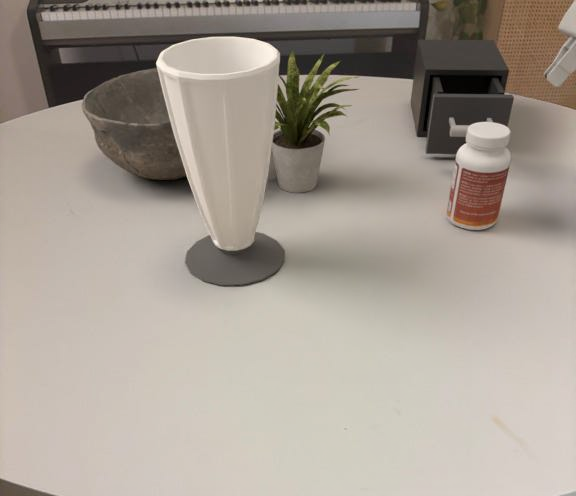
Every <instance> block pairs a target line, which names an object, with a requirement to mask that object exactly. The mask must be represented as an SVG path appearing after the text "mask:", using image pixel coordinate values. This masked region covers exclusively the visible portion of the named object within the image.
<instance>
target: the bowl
mask: <svg viewBox="0 0 576 496" xmlns="http://www.w3.org/2000/svg"><path fill="white" fill-rule="evenodd" d="M81 110H82V112H83V114H84V116H85V117H86V119H87V121H88V122H89V124H90V126H91V128H92V130H93V134H94V140H95V142H96V143H95V144H96V145H97V147H98V149H99V150H100V151H101V152H102V154H104V155H105V157H106V158H107V159H109V160H110V162H112V163H114V164H115V165H116V166H118V167H120V168H121V169H123V170H124V171H126V172H129V173H130V174H132V175H134V176H137V177H141V178H145V179H149V180H154V181H164V180H165V181H169V180H173V181H174V180H177V179H178V180H179V179H182V178H183V179H184V178H187V175H186V172H185V169H184V165H183V162H182V159H181V156H180V152H179V149H178V146H177V143H176V140H175V136H174V133H173V129H172V125H171V122H170V118H169V114H168V110H167V106H166V102H165V98H164V95H163V90H162V86H161V82H160V78H159V74H158V69H157V67H154V68H148V69H142V70H137V71H134V72H129V73H126V74H121V75H118V76H117V77H113V78H111V79H108V80H106V81H104V82H102V83H101V84H99V85H97V86H96V87H94V88H92V89H91V90H89V91H88V92H87V93H85V95H84V96H83V100H82V102H81Z"/></svg>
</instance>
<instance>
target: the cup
mask: <svg viewBox="0 0 576 496" xmlns="http://www.w3.org/2000/svg"><path fill="white" fill-rule="evenodd" d="M280 63H281V53H280V51H279V50H278V49H277V48H275V46H274V45H271V43H269V42H266V41H262V40H258V39H256V38H249V37H242V36H208V37H201V38H194V39H188V40H184V41H182V42H178V43H175V44H171V46H168V47H166V48H165V49H163V50H162V51H161V52H160V53H159V55H158V57H157V60H156V62H155V65H156V68H157V69H158V74H159V78H160V82H161V86H162V90H163V95H164V98H165V102H166V106H167V110H168V114H169V118H170V122H171V125H172V129H173V133H174V136H175V140H176V143H177V146H178V149H179V152H180V156H181V159H182V162H183V165H184V169H185V172H186V175H187V176H186V178H187V181H188V184H189V186H190V189H191V192H192V195H193V197H194V198H193V199H194V201H195V203H196V206H197V209H198V212H199V214H200V216H201V219H202V221H203V223H204V225H205V227H206V229H207V232H208V234H209V235H207V236H204V237H203V238H201V239H198V240H197V241H196V242H194V244H192V246H191V247H190V248H189V249H188V250H187V251H186V254H185V260H184V264H185V265H186V267H187V270H188V271H189V273H190V274H191V275H192V276H194V277H196V278H197V279H199V280H201V281H202V282H204V283H208V284H212V285H216V286H220V287H235V286H234V285H240V287H242V286H248V285H251V284H255V283H258V282H262V281H264V280H266V279H267V278H270V277H271V276H273V275H274V274H277V272H278V271H279V269H281V267H282V265H283V264H284V262H285V249H284V248H283V246H282V245H281V244H280V242H279V241H278V240H277V239H275V238H273V237H271V236H270V235H267V234H265V233H263V232H258V231H257V228H258V224H259V222H260V217H261V213H262V210H263V204H264V199H265V194H266V187H267V183H268V176H269V169H270V163H271V154H272V141H273V133H274V132H275V130H274V126H275V121H276V118H275V114H276V110H277V107H276V104H277V103H278V101H277V90H278V84H279V75H280V73H279V72H280Z"/></svg>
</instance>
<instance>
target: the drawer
mask: <svg viewBox="0 0 576 496" xmlns="http://www.w3.org/2000/svg"><path fill="white" fill-rule="evenodd" d="M514 101H515V97H514V95H513V94H506V91H505V92H504V90H503V88H502V86H501V84H500V81H499V79H498V77H497V76H473V75H430V82H429V89H428V96H427V104H426V111H425V123H426V128H427V133H428V136H427V137H426V144H425V154H426V155H456V154H457V152H458V150H459V148H460V147H461V146H463V145H464V144H466V135H467V130H468V127H469V126H470V125H472V124H474V123H478V122H494V123H499V124H502V125H504V126H506V127H508V126H509V122H510V117H511V112H512V109H513V104H514ZM508 128H509V127H508Z"/></svg>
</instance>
